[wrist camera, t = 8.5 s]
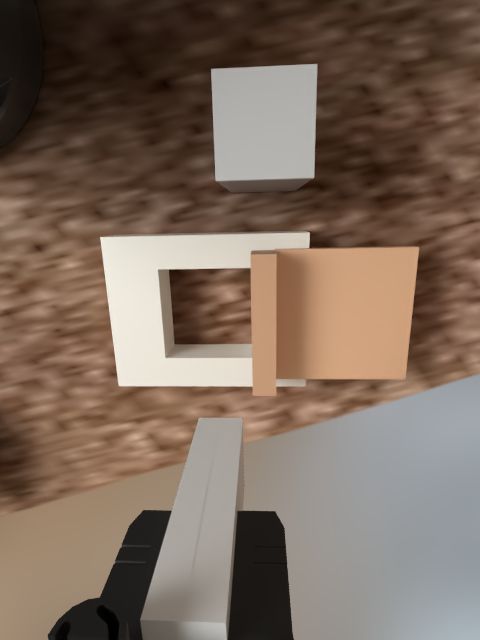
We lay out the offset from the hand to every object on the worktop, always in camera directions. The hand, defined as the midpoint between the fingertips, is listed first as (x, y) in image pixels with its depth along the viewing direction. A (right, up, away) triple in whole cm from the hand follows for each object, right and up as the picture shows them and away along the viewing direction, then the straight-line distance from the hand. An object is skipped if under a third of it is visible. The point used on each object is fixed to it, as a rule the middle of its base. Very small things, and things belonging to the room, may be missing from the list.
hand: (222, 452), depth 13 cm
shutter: (+7, +5, +13) cm, 15 cm away
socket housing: (-1, +6, +16) cm, 17 cm away
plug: (+2, +16, +13) cm, 21 cm away
